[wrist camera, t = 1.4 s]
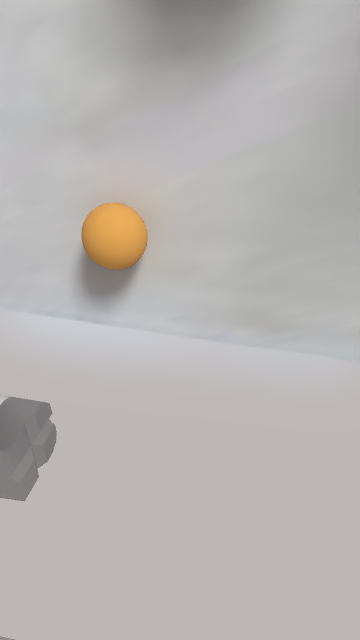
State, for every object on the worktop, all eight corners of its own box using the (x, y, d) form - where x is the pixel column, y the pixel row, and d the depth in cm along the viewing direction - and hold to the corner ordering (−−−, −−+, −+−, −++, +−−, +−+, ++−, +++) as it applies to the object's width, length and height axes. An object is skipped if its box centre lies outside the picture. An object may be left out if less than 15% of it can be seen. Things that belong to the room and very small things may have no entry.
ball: (83, 226, 32) (57, 246, 28) (119, 182, 30) (97, 196, 25) (127, 266, 34) (111, 292, 29) (165, 228, 31) (153, 249, 27)
